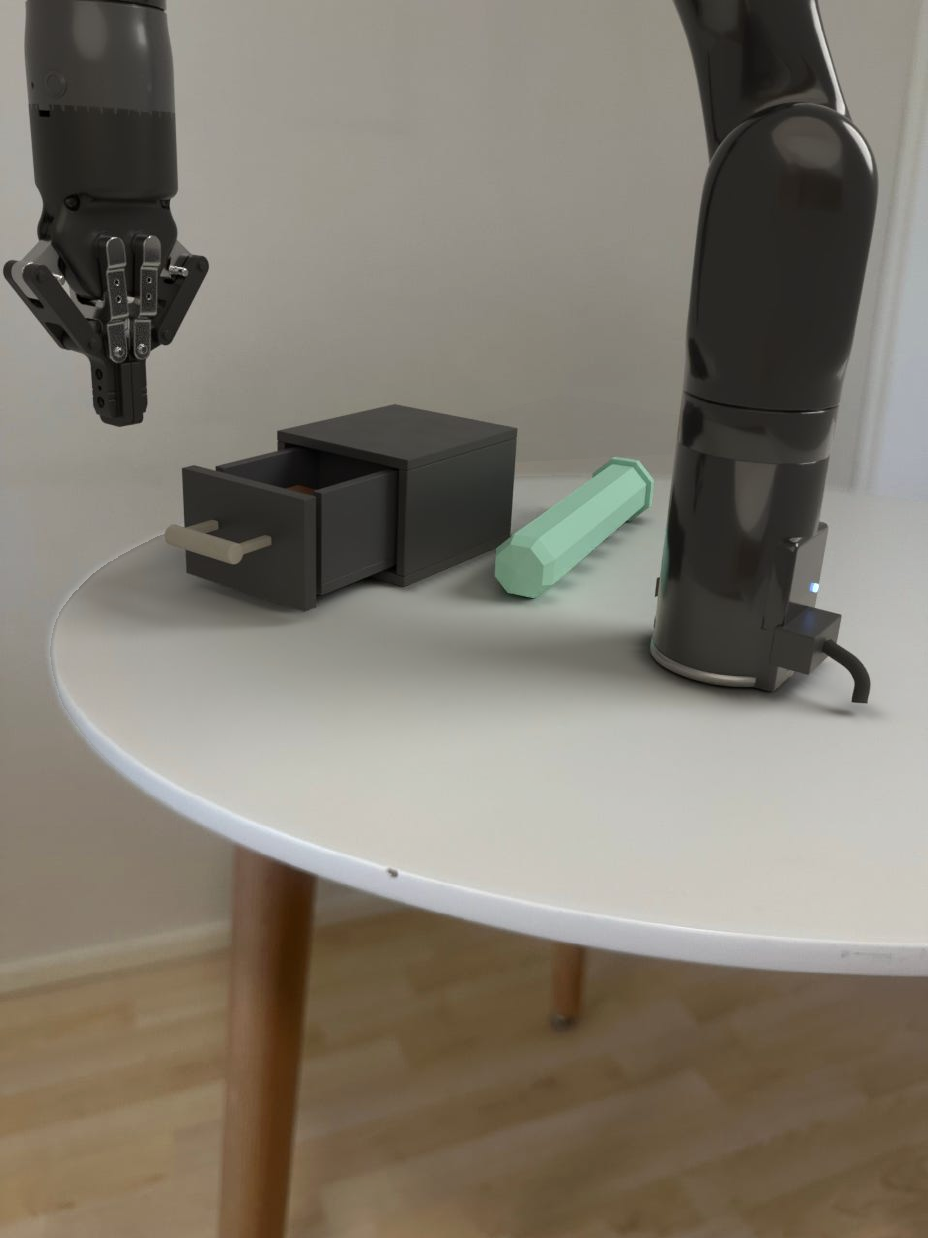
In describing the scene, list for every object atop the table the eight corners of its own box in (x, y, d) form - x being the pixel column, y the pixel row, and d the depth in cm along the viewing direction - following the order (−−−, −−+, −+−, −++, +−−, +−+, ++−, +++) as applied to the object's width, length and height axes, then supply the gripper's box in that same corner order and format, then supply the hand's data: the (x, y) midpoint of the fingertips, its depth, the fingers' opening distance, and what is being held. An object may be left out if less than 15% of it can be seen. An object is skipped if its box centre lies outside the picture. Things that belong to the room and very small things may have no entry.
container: (540, 525, 80) (645, 448, 101) (468, 542, 83) (584, 464, 104) (565, 604, 82) (663, 512, 103) (492, 618, 85) (602, 525, 106)
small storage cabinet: (404, 587, 85) (407, 460, 82) (278, 549, 92) (276, 430, 88) (510, 541, 96) (518, 427, 93) (391, 510, 103) (394, 403, 99)
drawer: (260, 630, 74) (257, 514, 71) (140, 588, 80) (133, 479, 77) (424, 562, 88) (428, 462, 85) (311, 531, 94) (311, 436, 91)
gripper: (152, 107, 69) (164, 398, 75) (-53, 91, 58) (-17, 429, 65) (242, 111, 65) (247, 417, 71) (41, 95, 54) (68, 454, 61)
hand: (121, 422), depth 68 cm, fingers closed
